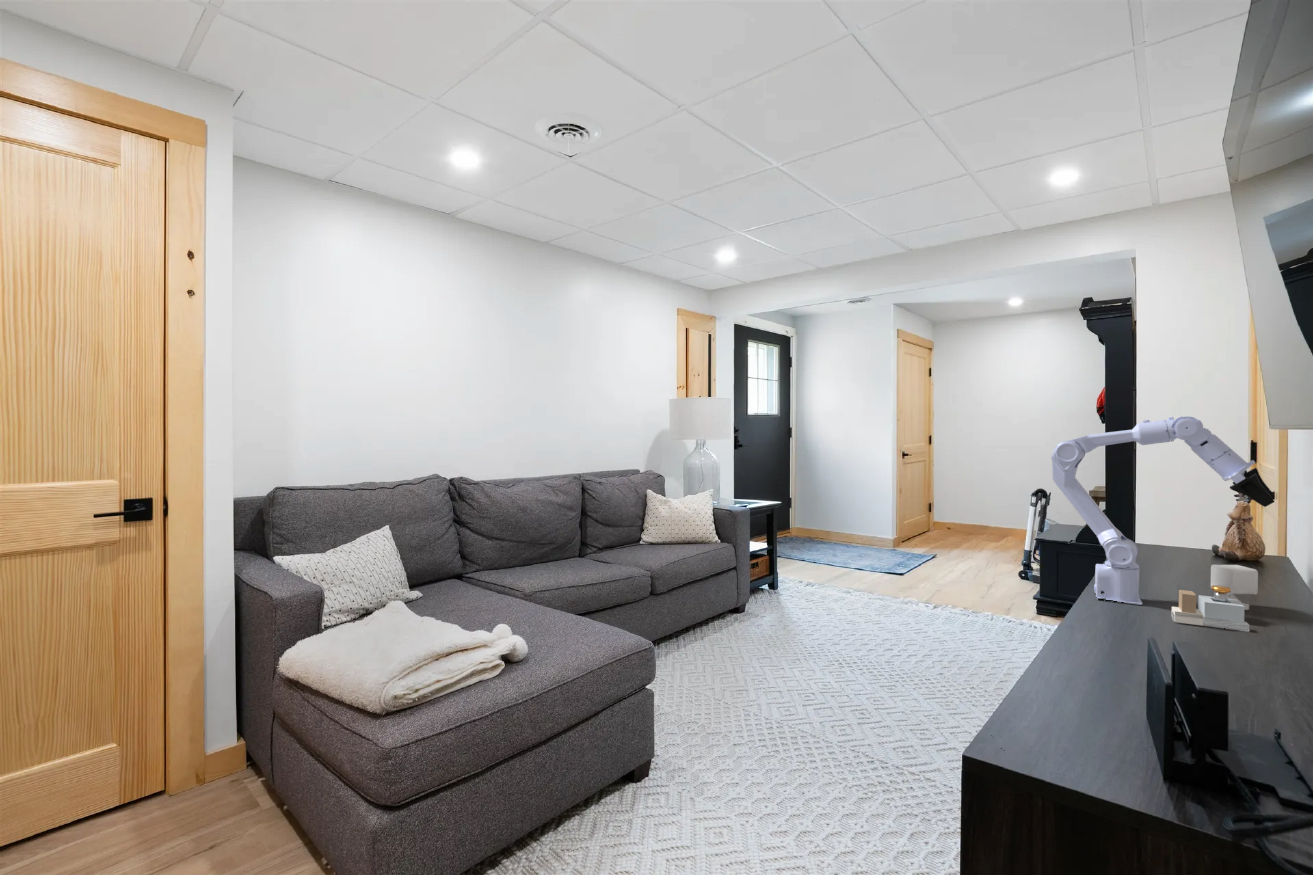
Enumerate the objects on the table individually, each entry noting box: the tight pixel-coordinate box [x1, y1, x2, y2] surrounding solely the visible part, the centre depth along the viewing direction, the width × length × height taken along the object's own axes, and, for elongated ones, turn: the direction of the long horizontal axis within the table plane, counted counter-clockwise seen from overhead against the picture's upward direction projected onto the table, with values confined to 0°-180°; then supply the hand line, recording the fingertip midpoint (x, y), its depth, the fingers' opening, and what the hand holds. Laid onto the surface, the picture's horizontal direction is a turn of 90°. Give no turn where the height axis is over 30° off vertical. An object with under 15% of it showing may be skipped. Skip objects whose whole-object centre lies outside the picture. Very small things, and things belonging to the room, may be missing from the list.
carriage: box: [1171, 589, 1204, 627], centre depth 145 cm, size 5×4×7 cm
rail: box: [1171, 612, 1250, 633], centre depth 143 cm, size 13×2×2 cm, turn 58°
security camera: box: [1210, 564, 1259, 611], centre depth 157 cm, size 6×7×10 cm
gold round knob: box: [1210, 585, 1231, 603], centre depth 149 cm, size 3×3×4 cm
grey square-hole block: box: [1197, 594, 1245, 622], centre depth 149 cm, size 7×7×4 cm
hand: (1270, 501), depth 145 cm, fingers open, 7 cm apart
